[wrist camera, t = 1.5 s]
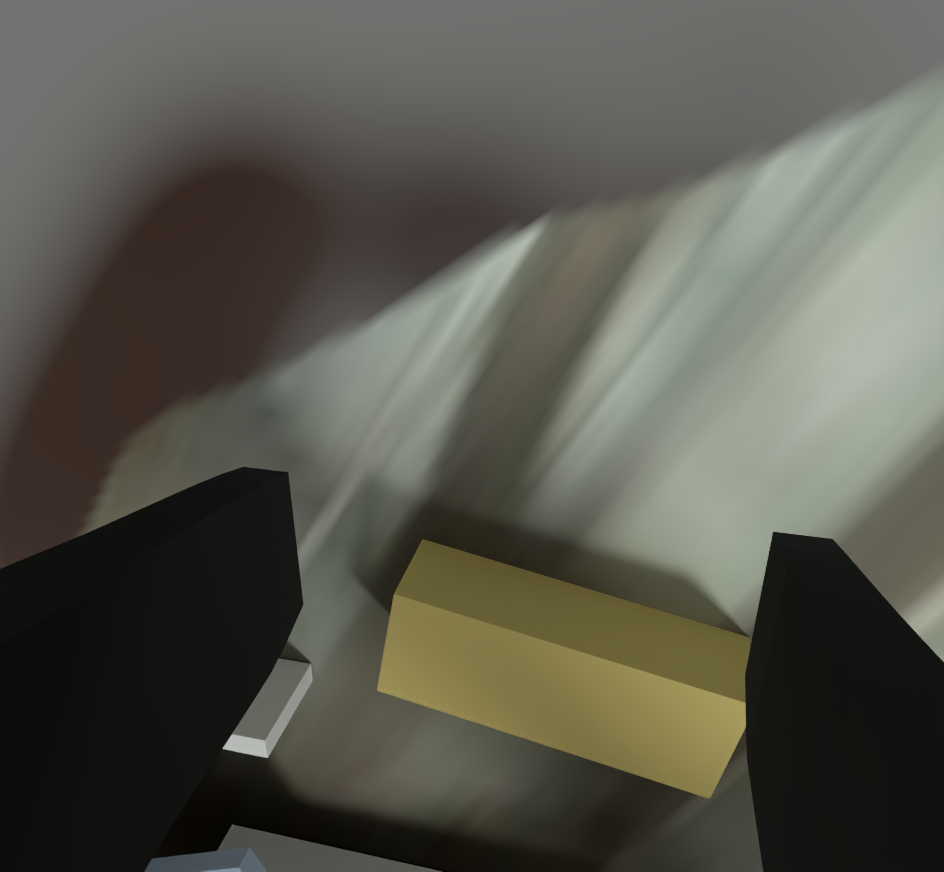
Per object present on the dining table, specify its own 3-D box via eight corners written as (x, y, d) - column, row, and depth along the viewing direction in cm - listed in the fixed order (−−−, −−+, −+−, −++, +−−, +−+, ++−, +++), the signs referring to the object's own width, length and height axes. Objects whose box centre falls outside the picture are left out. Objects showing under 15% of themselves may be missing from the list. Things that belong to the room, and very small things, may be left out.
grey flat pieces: (850, 758, 20) (872, 861, 17) (790, 963, 23) (802, 1072, 21) (197, 644, 23) (139, 715, 21) (234, 836, 27) (189, 916, 24)
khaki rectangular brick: (748, 628, 19) (756, 706, 17) (707, 717, 20) (709, 799, 18) (425, 533, 20) (393, 593, 18) (408, 623, 21) (377, 690, 19)
